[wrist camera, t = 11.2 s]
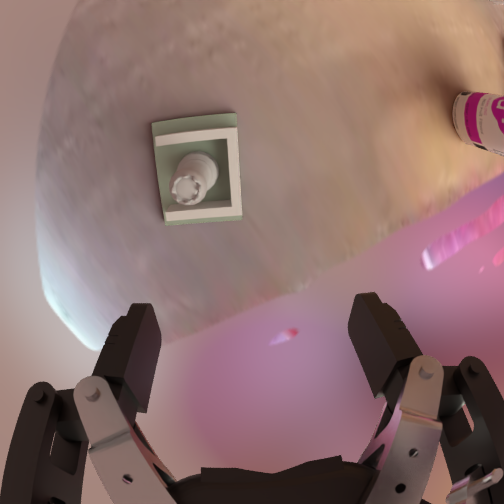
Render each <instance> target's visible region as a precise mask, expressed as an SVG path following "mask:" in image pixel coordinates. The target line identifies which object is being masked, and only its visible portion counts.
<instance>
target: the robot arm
mask: <svg viewBox="0 0 504 504" xmlns="http://www.w3.org/2000/svg"><path fill="white" fill-rule="evenodd" d="M348 333H349V336H350V339H351V341H352V343H353V346H354V348H355V351H356V353H357V355H358V358H359V360H360V363H361V365H362V367H363V370H364V372H365V375H366V377H367V380H368V382H369V385H370V387H371V390H372V393H373V395H374V398H375V399H376V398H379V397H383V396H385V398H386V403H385V404H384V407H383V410H382V412H381V415H380V418H379V420H378V423H377V425H376V428H375V430H374V433H373V435H372V437H371V440H370V442H369V444H368V446H367V447H366V449H365V450H364V452H363V453H362V455H361V457H360V459H359V460H358V462H357V463H354V462H346V461H342V457H341V455H339V456H335V457H330V458H325V459H320V460H314V461H309V462H306V463H303V464H300V465H298V466H295V467H293V468H290V469H287V470H284V471H281V472H278V473H273V474H270V473H263V472H255V471H249V470H244V469H239V468H204V467H201V474H196V475H192V476H189V477H186V478H184V479H181V480H179V481H177V480H176V479H175V478H174V476H173V475H172V473H171V472H170V471H169V470H168V468H167V467H166V466H165V465H164V464H163V462H162V461H161V460H160V459H159V457H158V456H157V454H156V453H155V451H154V450H153V448H152V447H151V445H150V444H149V442H148V440H147V439H146V437H145V436H144V434H143V432H142V431H141V429H140V427H139V426H138V424H137V422H136V421H135V419H136V414H137V412H141V413H147V408H148V403H149V398H150V393H151V388H152V383H153V379H154V374H155V370H156V365H157V361H158V357H159V352H160V348H161V340H162V339H161V331H160V328H159V325H158V322H157V319H156V315H155V312H154V309H153V306H152V304H150V303H133V304H132V305H131V306H130V309H129V311H128V313H127V316H121V317H120V318H119V319H118V320H117V321H116V322H115V323H114V324H113V325H112V327H111V330H110V332H109V334H108V335H109V336H107V339H106V341H105V345H104V346H103V348H102V351H101V353H100V356H99V358H98V361H97V363H96V366H95V368H94V371H93V373H92V376H89V377H86V378H84V379H82V380H81V381H80V382H79V383H78V384H77V385H76V387H75V388H74V389H67V390H59V391H56V390H55V389H54V388H53V387H52V386H51V385H50V384H49V383H47V382H38V383H36V384H34V385H33V386H32V387H31V388H30V389H29V390H28V392H27V395H26V398H25V400H24V403H23V406H22V409H21V411H20V414H19V417H18V420H17V423H16V427H15V430H14V433H13V437H12V440H11V444H10V448H9V452H8V456H7V461H6V465H5V470H4V475H3V480H2V487H1V494H0V504H81V494H82V485H83V476H84V469H85V462H86V456H87V450H88V444H89V441H90V444H91V448H90V449H89V456H90V459H91V461H92V463H93V465H94V467H95V469H96V472H97V474H98V476H99V478H100V480H101V481H102V483H103V485H104V487H105V489H106V491H107V493H108V494H109V496H110V498H111V500H112V501H113V503H114V504H431V503H429V502H427V501H425V500H423V499H422V496H423V493H424V491H425V488H426V485H427V482H428V479H429V476H430V473H431V470H432V467H433V463H434V460H435V456H436V453H437V449H438V445H439V441H440V444H441V447H442V450H443V453H444V457H445V460H446V463H447V467H448V470H449V473H450V477H451V480H452V485H453V486H452V488H451V491H450V493H449V494H448V495H447V497H446V503H447V504H504V400H503V398H502V396H501V394H500V392H499V390H498V388H497V386H496V384H495V382H494V381H493V379H492V377H491V375H490V373H489V371H488V370H487V368H486V366H485V365H484V363H483V362H482V361H481V360H480V359H478V358H476V357H472V356H468V357H465V358H464V359H463V360H462V361H461V363H460V364H459V366H442V365H441V364H440V363H439V362H438V361H437V360H436V359H435V358H433V357H430V356H427V355H423V354H422V352H421V350H420V349H419V347H418V345H417V344H416V342H415V340H414V339H413V337H412V336H411V334H410V332H409V331H408V329H406V326H405V324H404V323H403V321H401V318H400V316H399V315H398V313H397V312H396V310H394V309H393V308H392V307H391V306H389V305H388V304H387V303H382V302H381V300H380V299H379V297H378V295H377V294H376V293H375V292H370V293H361V294H357V295H356V296H355V299H354V302H353V306H352V310H351V314H350V318H349V322H348ZM464 404H466V406H467V408H468V411H469V413H470V415H471V418H472V420H473V422H474V430H473V432H472V430H471V428H470V425H469V423H468V420H467V418H466V415H465V413H464V411H463V408H462V406H463V405H464ZM54 433H55V437H54ZM53 437H54V441H53ZM52 442H53V446H52ZM51 446H52V450H51ZM50 450H51V455H50Z"/></svg>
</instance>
